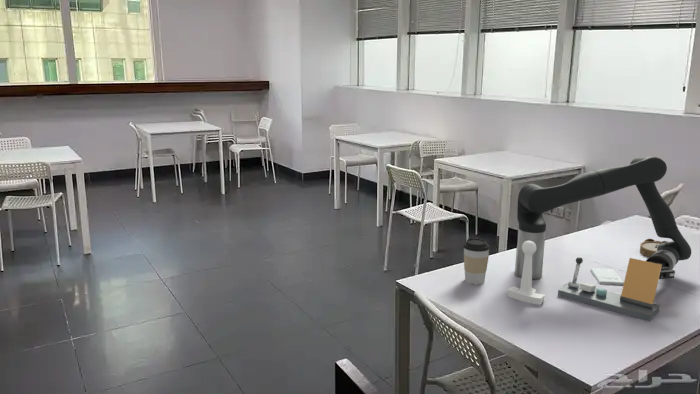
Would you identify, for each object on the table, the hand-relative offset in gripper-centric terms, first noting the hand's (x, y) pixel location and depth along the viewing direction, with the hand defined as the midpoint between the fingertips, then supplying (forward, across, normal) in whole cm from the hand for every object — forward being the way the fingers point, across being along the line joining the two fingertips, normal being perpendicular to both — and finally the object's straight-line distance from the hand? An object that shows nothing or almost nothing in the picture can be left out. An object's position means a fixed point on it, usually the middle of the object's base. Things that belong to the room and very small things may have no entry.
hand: (645, 277), depth 175 cm
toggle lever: (+7, -19, +6) cm, 22 cm away
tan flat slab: (+7, 0, +6) cm, 10 cm away
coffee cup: (+20, -49, +9) cm, 54 cm away
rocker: (+7, -15, +6) cm, 18 cm away
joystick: (+20, -29, +9) cm, 37 cm away
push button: (+7, -10, +7) cm, 14 cm away
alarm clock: (-56, -11, +9) cm, 58 cm away
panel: (+7, -8, +9) cm, 14 cm away
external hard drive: (-15, -16, +10) cm, 24 cm away
